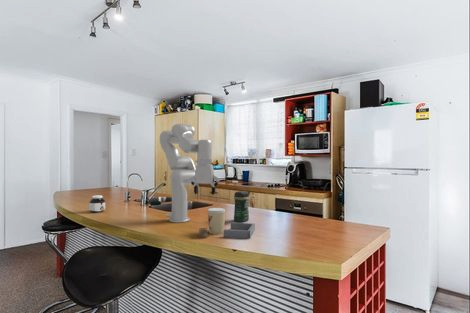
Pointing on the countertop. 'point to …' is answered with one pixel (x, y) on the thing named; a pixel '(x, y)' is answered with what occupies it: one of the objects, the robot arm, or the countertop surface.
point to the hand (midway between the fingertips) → (204, 194)
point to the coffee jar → (241, 206)
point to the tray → (240, 230)
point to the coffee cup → (216, 220)
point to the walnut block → (202, 232)
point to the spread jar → (97, 204)
